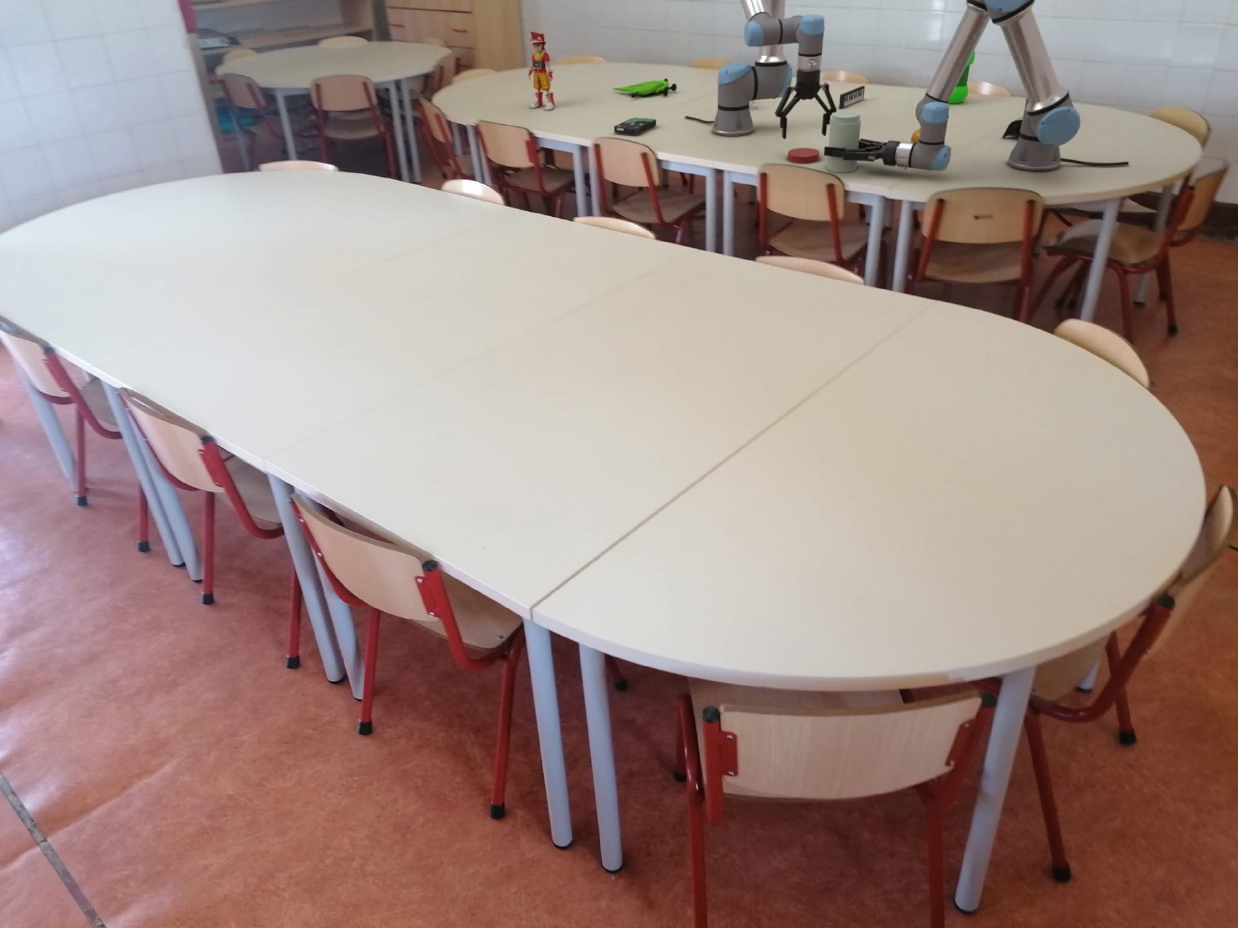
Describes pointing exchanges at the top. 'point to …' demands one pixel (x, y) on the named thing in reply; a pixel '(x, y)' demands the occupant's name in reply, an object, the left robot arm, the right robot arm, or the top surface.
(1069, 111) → the right robot arm
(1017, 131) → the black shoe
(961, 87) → the plastic bottle
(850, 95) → the midi keyboard
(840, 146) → the jar
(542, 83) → the toy
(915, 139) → the fruit
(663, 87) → the toy
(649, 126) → the disk drive
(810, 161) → the lid
